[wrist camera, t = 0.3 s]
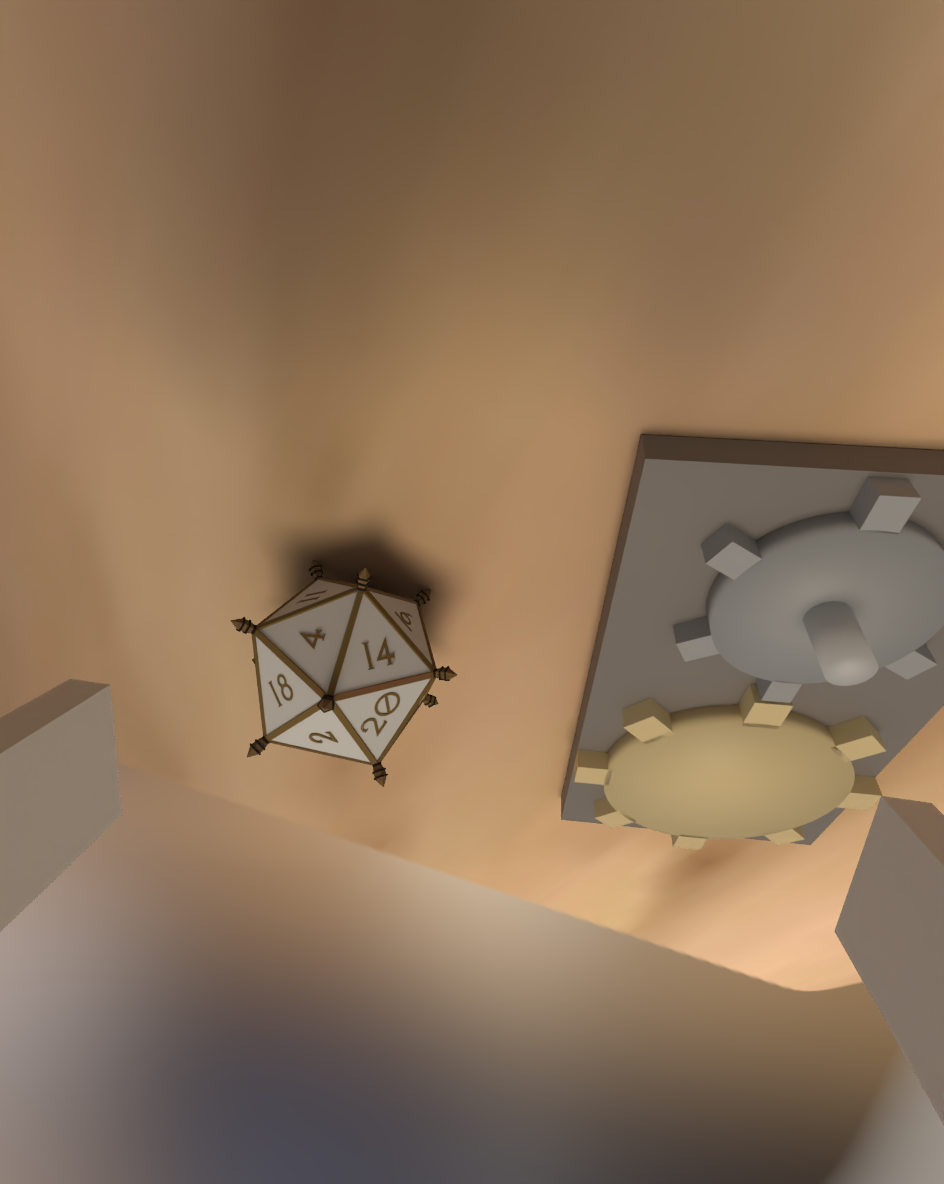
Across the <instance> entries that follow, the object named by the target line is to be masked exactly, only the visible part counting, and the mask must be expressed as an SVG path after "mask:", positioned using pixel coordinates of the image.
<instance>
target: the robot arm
mask: <svg viewBox="0 0 944 1184" xmlns="http://www.w3.org/2000/svg"><path fill="white" fill-rule="evenodd" d="M121 816H122V809H121V798H120V786H119V776H118V764H117V753H116V742H115V731H114V719H113V708H112V697H111V686H110V685H109V684H102V683H95V682H88V681H81V680H74V679H69V680H67V681H65V682H64V683H62V684H60V685H58V686H56V687H55V688H53V689H51V690H49V691H48V692H46V693H44V694H42V695H40V696H39V697H37V698H35V699H33V700H31V701H30V702H28V703H26V704H24V705H23V706H21V707H19V708H17V709H15V710H14V711H12V712H10V713H8V714H7V715H5V716H3V717H1V718H0V932H1V930H3V929H4V928H5V927H6V926H7V925H8V924H9V923H10V922H11V921H12V920H13V919H14V918H15V917H16V916H17V915H18V914H19V913H20V912H22V910H24V909H25V907H27V906H28V905H29V904H30V903H31V902H32V901H33V900H34V899H35V898H36V897H37V896H38V895H39V894H40V893H41V892H42V891H44V889H46V888H47V887H48V886H49V885H50V884H51V883H52V882H53V881H54V880H55V879H56V878H57V877H58V876H59V875H60V874H61V873H62V872H63V871H64V870H65V869H67V868H68V867H69V866H70V865H71V864H72V863H73V862H74V861H75V860H76V859H77V858H78V857H79V856H80V855H81V854H82V853H83V852H84V851H85V850H86V849H87V848H88V847H89V846H91V845H92V844H93V843H94V842H95V841H96V840H97V839H98V838H99V837H100V836H101V835H102V834H103V833H104V832H105V831H106V830H107V829H108V828H109V827H110V826H111V825H113V824H114V823H115V822H116V821H117V820H118V819H119V818H120V817H121ZM835 933H836V935H837V936H838V938H839V940H840V942H841V943H842V945H843V947H844V949H845V951H846V952H847V954H848V956H849V958H850V959H851V961H852V963H853V965H854V967H855V968H856V970H857V972H858V974H859V975H860V977H861V979H862V981H863V982H864V984H865V986H866V988H867V990H868V991H869V993H870V995H871V997H872V998H873V1000H874V1002H875V1004H876V1006H877V1007H878V1009H879V1011H880V1013H881V1014H882V1016H883V1018H884V1020H885V1021H886V1023H887V1025H888V1027H889V1028H890V1030H891V1032H892V1034H893V1035H894V1037H895V1039H896V1041H897V1043H898V1044H899V1046H900V1048H901V1050H902V1051H903V1053H904V1055H905V1057H906V1059H907V1060H908V1062H909V1064H910V1066H911V1068H912V1069H913V1071H914V1073H915V1075H916V1076H917V1078H918V1080H919V1082H920V1084H921V1085H922V1087H923V1089H924V1091H925V1092H926V1094H927V1096H928V1098H929V1099H930V1101H931V1103H932V1105H933V1107H934V1108H935V1110H936V1112H937V1114H938V1115H939V1117H940V1119H941V1121H942V1123H943V1124H944V815H943V814H942V813H941V812H940V811H939V810H938V809H937V808H936V807H935V806H934V805H933V804H932V803H927V802H920V801H913V800H906V799H899V798H892V797H885V796H881V799H880V801H879V804H878V807H877V810H876V813H875V816H874V819H873V822H872V825H871V827H870V830H869V833H868V836H867V839H866V842H865V845H864V848H863V851H862V853H861V856H860V859H859V862H858V865H857V868H856V871H855V874H854V876H853V879H852V882H851V885H850V888H849V891H848V894H847V897H846V900H845V902H844V905H843V908H842V911H841V914H840V917H839V920H838V923H837V926H836V928H835Z"/></svg>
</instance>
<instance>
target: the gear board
mask: <svg viewBox="0 0 944 1184" xmlns="http://www.w3.org/2000/svg"><path fill="white" fill-rule="evenodd" d="M943 706H944V451H943V450H924V449H905V448H886V447H867V446H848V445H829V444H810V443H791V442H772V441H753V440H735V439H716V438H697V437H678V436H659V435H641V437H640V442H639V446H638V451H637V455H636V460H635V464H634V469H633V473H632V478H631V483H630V487H629V492H628V496H627V501H626V505H625V510H624V514H623V519H622V523H621V528H620V533H619V537H618V542H617V546H616V551H615V555H614V560H613V564H612V569H611V573H610V578H609V583H608V587H607V592H606V596H605V601H604V605H603V610H602V614H601V619H600V623H599V628H598V633H597V637H596V642H595V646H594V651H593V655H592V660H591V664H590V669H589V673H588V678H587V683H586V687H585V692H584V696H583V701H582V705H581V710H580V714H579V719H578V723H577V728H576V733H575V737H574V742H573V746H572V751H571V755H570V760H569V764H568V769H567V773H566V778H565V783H564V787H563V792H562V796H561V820H570V821H580V822H590V823H600V824H605V825H606V826H608V827H610V828H615V827H618V826H629V827H639V828H649V829H652V830H655V831H659V832H662V833H666V834H671V837H672V844H673V847H678V848H688V849H697V850H700V849H701V847H702V846H703V844H704V843H705V841H706V840H707V839H737V838H747V839H757V840H767V841H772V842H773V843H775V844H776V845H781V844H786V843H796V844H806V845H811V844H812V843H813V842H814V841H815V840H816V839H817V838H818V837H819V836H820V834H821V833H822V832H823V831H824V830H825V829H826V828H827V827H828V826H829V825H830V824H831V823H832V822H833V821H834V820H835V819H836V818H837V817H838V816H839V815H840V814H841V812H842V811H843V810H844V809H845V808H848V809H858V810H869V809H870V808H871V807H872V806H873V805H874V804H875V803H876V802H877V801H878V800H879V799H880V798H881V796H882V793H881V791H880V788H879V786H878V783H877V781H876V778H875V777H876V776H877V775H878V774H879V773H880V772H881V771H882V769H883V768H884V767H885V766H886V765H887V764H888V763H889V762H890V761H891V760H892V759H893V758H894V757H895V756H896V755H897V754H898V753H899V752H900V751H901V750H902V749H903V747H904V746H905V745H906V744H907V743H908V742H909V741H910V740H911V739H912V738H913V737H914V736H915V735H916V734H917V733H918V732H919V731H920V730H921V729H922V728H923V727H924V725H925V724H926V723H927V722H928V721H929V720H930V719H931V718H932V717H933V716H934V715H935V714H936V713H937V712H938V711H939V710H940V709H941V708H942V707H943Z"/></svg>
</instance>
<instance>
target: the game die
mask: <svg viewBox="0 0 944 1184" xmlns="http://www.w3.org/2000/svg"><path fill="white" fill-rule="evenodd" d="M321 569H322V567H321V565H319V564H318V563H316V562H315V561H314V560H313V562H312V565H311V568H310V569H309V571H311V576H313V577H314V578H315V580H314V581H313V582H312V583H311V584H309V585H308V586H307V587H305V588H304V589H303V590H301V591H300V592H299V593H298V594H296V595H295V596H294V597H292V598H291V599H290V600H289V601H287V602H286V603H285V604H283V605H282V606H281V607H280V608H278V609H277V610H276V611H274V612H273V613H272V614H271V615H269V616H268V617H267V618H265V619H264V620H263V621H261V622H260V623H259V624H258V625H254V624H253V623H251V620H249V621H248V620H246V619H245V617H243V618H242V619H236V620H231V622H232V623H233V624H234V626H235V627H236V628H237V629H236V630H237V631H239V632H240V631H242V632H243V633H245V634H246V633H251V634H252V641H253V650H254V659H252V661H253V662H254V664H255V667H256V676H257V685H258V694H259V702H260V711H261V720H262V729H263V737H262V738H260V739H258V740H255V742H254V743H253V744H250V749H249V752H248V755H247V757H250V756H254V755H258V754H259V755H261V754H260V753H261V752H262V751H263V750H265V747H266V746H267V744H269V743H273V744H278V745H282V746H287V747H292V748H296V749H301V750H305V751H310V752H314V753H319V754H323V755H328V756H332V757H337V758H341V759H346V760H351V761H355V762H360V763H364V764H369V765H372V766H373V774H374V776H375V778H374V780H376V781H377V782H378V783H379V784H380V785H382V786H383V787H384V784H385V780H386V776H387V775H388V774H386V772H385V769H386V768H384V767H383V766H382V765H381V761H382V760H383V758H384V757H385V755H386V754H387V753H388V751H389V750H390V748H391V747H392V745H393V744H394V743H395V741H396V740H397V738H398V737H399V735H400V734H401V732H402V731H403V730H404V728H405V727H406V725H407V724H408V722H409V721H410V720H411V718H412V717H413V715H414V714H415V712H416V711H417V709H418V708H419V707H420V705H421V704H422V702H423V703H424V704H425V706H426V705H428V707H429V708H430V707H431V706H433V705H436V704H438V702H437V700H436V697H435V696H433V695H429V694H428V692H429V690H430V688H431V686H432V684H433V682H434V681H435V679H436V677H437V678H439V680H445V681H450V679H451V678H453V677H455V676H456V675H457V674H456V673H454V672H453V671H452V670H451V669H450V668H449V666H447V668H444V667H443V666H442V667H441V668H439V669H436V665H435V661H434V658H433V654H432V651H431V647H430V643H429V640H428V636H427V633H426V629H425V626H424V622H423V618H422V615H421V611H420V608H419V606H420V605H421V604H426V601H427V600H428V601H429V600H430V599H429V597H430V592H431V590H426V591H422V590H421V592H420V594H417V597H416V599H415V600H412V599H408V598H405V597H402V596H398V595H395V594H391V593H388V592H384V591H381V590H377V589H374V588H370V587H367V585H369V584H370V579H371V578H372V576H371V575H369V573H368V571H367V569H366V568H364V569H363V570H362V571H361V572H359V573H357V578H356V582H357V584H354V583H349V582H344V581H339V580H334V579H329V578H324V577H322V574H323V570H321Z"/></svg>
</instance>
